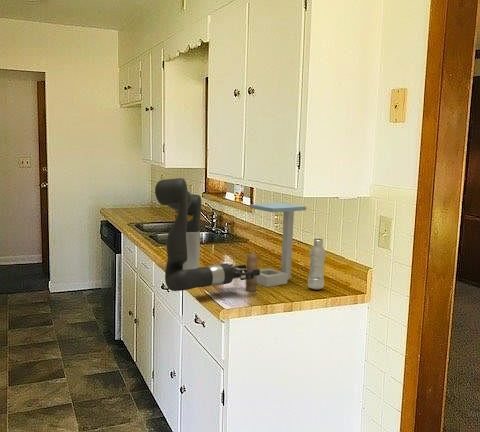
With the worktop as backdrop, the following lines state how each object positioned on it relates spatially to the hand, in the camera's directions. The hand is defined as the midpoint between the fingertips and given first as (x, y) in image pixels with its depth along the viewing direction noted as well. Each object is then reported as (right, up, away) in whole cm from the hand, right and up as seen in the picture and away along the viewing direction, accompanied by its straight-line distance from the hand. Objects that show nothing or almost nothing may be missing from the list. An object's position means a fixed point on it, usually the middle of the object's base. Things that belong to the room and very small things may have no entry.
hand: (252, 269), depth 201 cm
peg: (-1, -8, +1) cm, 8 cm away
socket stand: (+10, -6, +16) cm, 20 cm away
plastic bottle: (+25, -9, +6) cm, 27 cm away
